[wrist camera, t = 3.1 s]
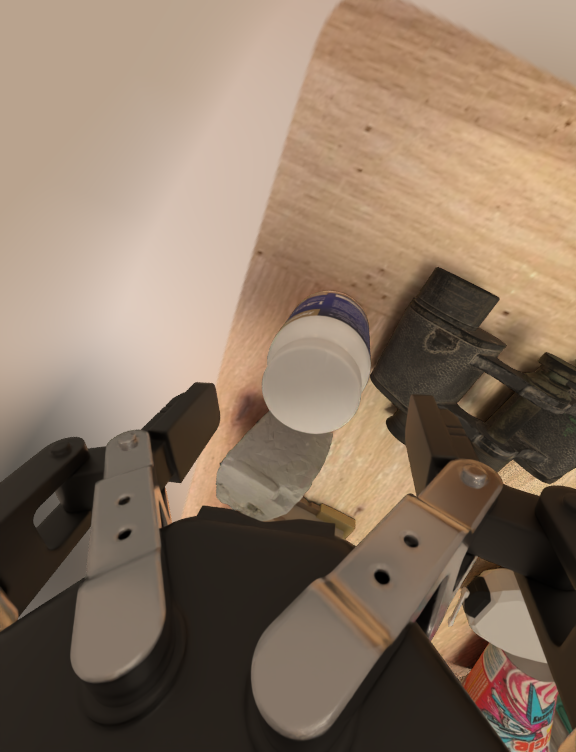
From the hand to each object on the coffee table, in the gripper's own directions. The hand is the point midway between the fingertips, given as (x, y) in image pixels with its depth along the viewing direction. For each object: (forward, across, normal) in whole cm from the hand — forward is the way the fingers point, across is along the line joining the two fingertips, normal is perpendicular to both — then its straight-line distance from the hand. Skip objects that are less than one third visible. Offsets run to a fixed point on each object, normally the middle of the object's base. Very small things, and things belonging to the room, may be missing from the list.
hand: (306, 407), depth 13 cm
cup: (+8, -20, +31) cm, 38 cm away
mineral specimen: (+12, +4, +10) cm, 16 cm away
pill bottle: (+12, 0, 0) cm, 12 cm away
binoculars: (+12, -11, +4) cm, 17 cm away
